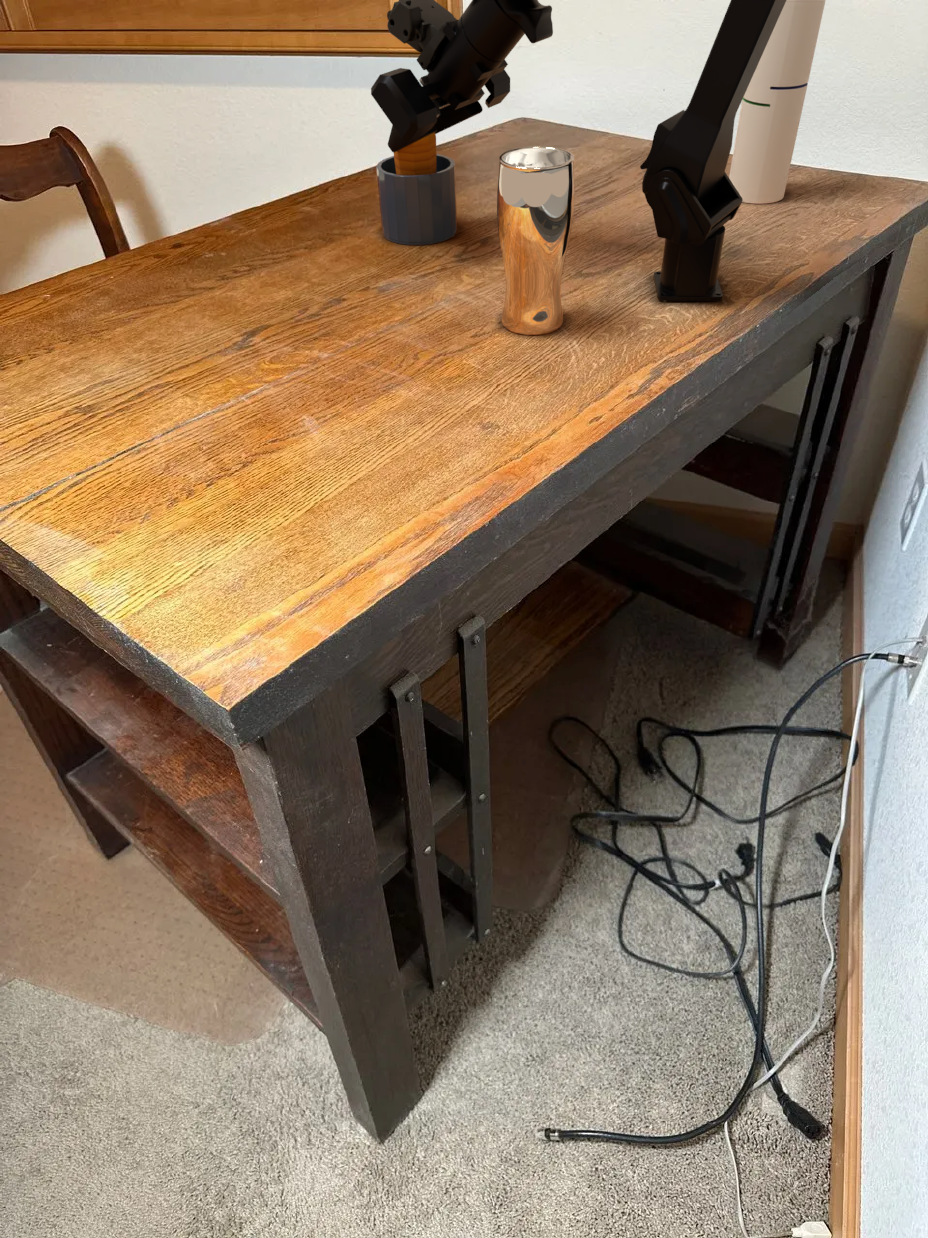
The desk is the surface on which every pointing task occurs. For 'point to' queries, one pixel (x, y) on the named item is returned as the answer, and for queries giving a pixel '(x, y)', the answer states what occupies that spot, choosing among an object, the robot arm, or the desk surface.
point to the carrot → (417, 157)
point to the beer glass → (534, 234)
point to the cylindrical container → (775, 104)
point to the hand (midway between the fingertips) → (404, 142)
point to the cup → (418, 203)
